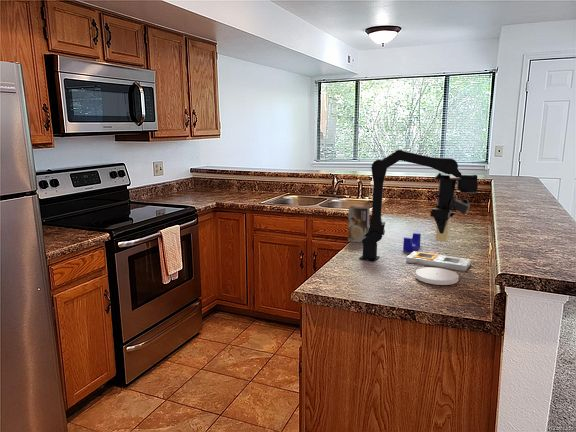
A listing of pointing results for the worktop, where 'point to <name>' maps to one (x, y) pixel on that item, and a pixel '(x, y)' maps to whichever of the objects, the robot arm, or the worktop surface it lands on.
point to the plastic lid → (436, 276)
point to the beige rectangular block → (445, 235)
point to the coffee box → (358, 223)
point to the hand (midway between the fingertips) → (442, 232)
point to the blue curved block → (412, 243)
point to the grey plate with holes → (439, 260)
